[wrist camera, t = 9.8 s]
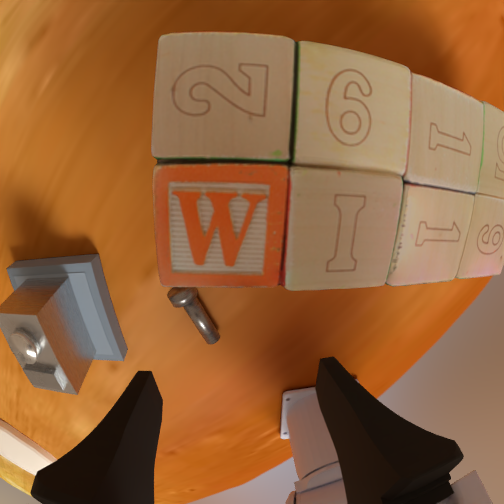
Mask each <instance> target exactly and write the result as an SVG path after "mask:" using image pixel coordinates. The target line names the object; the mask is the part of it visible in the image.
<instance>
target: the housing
mask: <svg viewBox="0 0 504 504" xmlns="http://www.w3.org/2000/svg"><path fill="white" fill-rule="evenodd" d="M0 328H1V330H2V332H3V334H4V336H5V338H6V340H7V342H8V344H9V346H10V349H11V350H12V352H13V353H14V355H15V356H16V358H17V360H18V362H19V363H20V365H21V367H22V368H23V371H24V372H25V374H26V376H27V377H28V379H29V380H30V382H31V383H32V385H33V386H34V387H37V388H41V389H46V390H52V391H57V392H63V393H69V394H76V395H78V393H79V390H80V388H81V385H82V383H83V381H84V378H85V376H86V374H87V372H88V369H89V367H90V365H91V363H92V360H93V358H94V356H95V354H96V352H97V351H96V349H95V346H94V344H93V342H92V339H91V337H90V334H89V332H88V329H87V327H86V324H85V322H84V319H83V316H82V314H81V311H80V308H79V305H78V303H77V300H76V297H75V294H74V291H73V288H72V285H71V282H70V278H69V277H54V278H32V279H26V280H25V281H24V282H23V283H22V284H21V285H20V286H19V287H18V288H17V289H16V290H15V291H14V292H13V293H12V294H11V295H10V296H9V297H8V298H7V299H6V300H5V301H4V302H3V303H2V304H1V305H0Z"/></svg>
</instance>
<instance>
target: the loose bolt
mask: <svg viewBox="0 0 504 504" xmlns="http://www.w3.org/2000/svg"><path fill="white" fill-rule="evenodd" d="M197 295H198V291H197V289H196V288H195V287H173V288H172V289H171V290H170V291H169V292H168V294H167V296H168V298H169V300H170V301H171V303H172V304H173V306H174V307H184V309H185V310H186V312H187V314H188V315H189V317H190V318H191V320H192V321H193V323H194V324H195V326H196V327H197V329H198V330H199V332H200V333H201V335H202V336H203V338H204V339H205V341H206V342H207V344H214V343H216V342H217V341H218V340H219V339H220V335H219V333H218V331H217V330H216V328H215V327H214V325H213V323H212V322H211V320H210V318H209V317H208V315H207V314H206V312H205V310H204V309H203V307H202V305H201V304H200V302H199V300H198V299H197Z"/></svg>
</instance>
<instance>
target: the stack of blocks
mask: <svg viewBox="0 0 504 504" xmlns="http://www.w3.org/2000/svg"><path fill="white" fill-rule="evenodd" d="M151 150H152V156H153V157H154V158H156V159H157V164H156V165H155V167H154V172H153V206H154V225H155V239H156V250H157V261H158V270H159V277H160V282H161V285H162V286H164V287H231V288H242V287H275V286H278V285H282V286H283V287H284V288H285V289H287V290H290V291H301V290H326V289H346V288H362V287H374V286H382V285H384V284H385V283H386V284H387V285H390V286H407V285H414V284H427V283H435V282H447V281H451V280H453V279H454V278H458V279H466V278H474V277H483V276H491V275H499V274H500V273H501V270H502V267H503V264H504V112H503V111H501V110H500V109H498V108H496V107H494V106H493V105H491V104H489V103H487V102H485V101H479V100H477V99H476V98H474V97H472V96H470V95H468V94H466V93H464V92H462V91H460V90H457V89H455V88H453V87H450V86H448V85H446V84H444V83H441V82H439V81H437V80H434V79H432V78H429V77H426V76H424V75H421V74H416V73H413V72H411V71H410V69H409V68H408V67H407V66H404V65H402V64H399V63H396V62H393V61H390V60H387V59H384V58H381V57H377V56H374V55H370V54H366V53H363V52H359V51H355V50H351V49H346V48H342V47H337V46H333V45H328V44H322V43H317V42H311V41H298V42H295V41H294V40H293V39H291V38H288V37H286V36H281V35H270V34H261V33H248V32H228V31H195V32H175V33H168V34H164V35H161V37H160V38H159V41H158V51H157V62H156V73H155V85H154V100H153V119H152V146H151Z"/></svg>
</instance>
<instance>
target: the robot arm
mask: <svg viewBox="0 0 504 504" xmlns="http://www.w3.org/2000/svg"><path fill="white" fill-rule="evenodd" d="M162 406H163V399H162V397H161V394H160V392H159V389H158V387H157V384H156V382H155V379H154V377H153V374H152V371H138V372H137V373H136V375H135V376H134V377H133V379H132V380H131V382H130V383H129V385H128V386H127V388H126V389H125V391H124V392H123V394H122V395H121V396H120V398H119V399H118V401H117V402H116V403H115V405H114V406H113V407H112V409H111V410H110V411H109V412H108V414H107V415H106V416H105V417H104V419H103V420H102V421H101V422H100V423H99V424H98V426H97V427H96V428H95V429H94V430H93V431H92V432H91V433H90V434H89V435H88V436H87V437H86V438H85V439H84V440H82V441H81V442H80V443H79V444H78V445H77V446H76V447H74V448H73V449H72V450H71V451H69V452H68V453H67V454H65V455H64V456H62V457H61V458H60V459H58V460H57V461H55V462H53V463H52V464H50V465H48V466H46V467H44V468H42V469H41V470H39V471H37V473H36V476H35V479H34V482H33V486H32V490H31V495H32V496H33V497H34V498H35V499H36V500H38V501H39V502H41V503H42V504H154V465H155V457H156V451H157V445H158V439H159V433H160V428H161V422H162ZM280 437H281V439H288V438H289V439H290V444H291V449H292V453H293V458H294V462H295V467H296V471H297V475H298V478H299V479H300V480H299V481H297V482H295V483H294V484H295V489H296V491H292V492H291V493H290V494H289V497H288V499H287V501H286V504H493V503H492V501H491V499H490V497H489V495H488V493H487V491H486V489H485V487H484V485H483V483H482V481H481V480H480V478H479V476H478V474H477V472H476V470H473V471H472V472H470V473H469V474H467V475H466V476H464V477H462V478H461V479H459V480H457V481H456V482H454V483H453V484H451V485H450V483H449V480H450V479H451V476H450V474H449V472H450V471H451V470H452V469H453V468H454V467H455V466H457V465H458V464H459V463H460V462H461V460H462V459H463V457H464V456H463V454H462V452H461V450H460V448H459V446H458V445H457V443H456V442H455V441H454V440H451V439H447V438H444V437H442V436H439V435H436V434H433V433H431V432H429V431H426V430H424V429H422V428H420V427H418V426H416V425H414V424H412V423H411V422H409V421H407V420H405V419H403V418H402V417H400V416H399V415H397V414H396V413H394V412H393V411H391V410H390V409H389V408H387V407H386V406H385V405H383V404H382V403H381V402H379V401H378V400H377V399H376V398H375V397H374V396H372V395H371V394H370V393H369V392H368V391H367V390H366V389H365V388H364V387H363V386H361V385H360V384H359V381H358V380H357V379H354V378H353V377H352V376H351V375H350V373H349V372H348V371H347V370H346V369H345V368H344V367H343V366H342V365H341V364H340V363H339V362H338V360H337V359H336V358H335V357H328V358H322V359H320V362H319V369H318V375H317V381H316V387H311V388H305V389H298V390H291V391H286V392H284V393H283V399H282V415H281V431H280Z"/></svg>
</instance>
